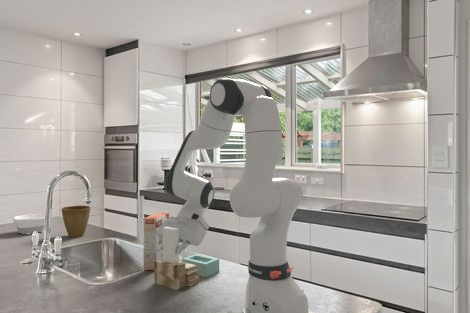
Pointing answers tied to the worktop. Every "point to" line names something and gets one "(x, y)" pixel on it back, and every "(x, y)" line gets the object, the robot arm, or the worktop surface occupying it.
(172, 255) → the white strip
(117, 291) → the worktop surface
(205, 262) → the teal holder
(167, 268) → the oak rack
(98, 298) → the worktop surface
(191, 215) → the robot arm
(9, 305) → the worktop surface
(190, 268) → the offcut stack
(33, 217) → the bowl
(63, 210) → the plant pot
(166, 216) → the cracker box
